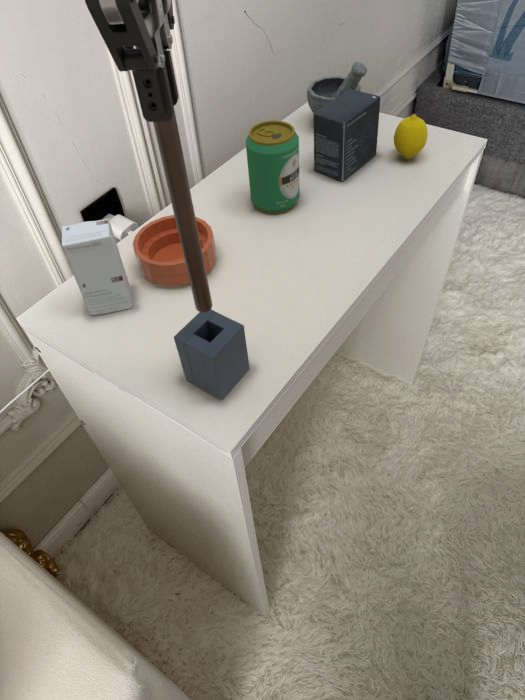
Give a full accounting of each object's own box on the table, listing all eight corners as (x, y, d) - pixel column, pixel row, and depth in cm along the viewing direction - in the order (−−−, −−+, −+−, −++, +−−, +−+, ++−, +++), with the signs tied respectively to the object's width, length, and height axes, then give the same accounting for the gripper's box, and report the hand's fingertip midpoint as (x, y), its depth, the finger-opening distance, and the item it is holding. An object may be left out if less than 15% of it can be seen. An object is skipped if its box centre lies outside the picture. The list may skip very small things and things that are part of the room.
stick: (194, 312, 55) (131, 45, 35) (196, 300, 56) (137, 35, 37) (211, 312, 55) (157, 43, 35) (213, 300, 56) (162, 33, 36)
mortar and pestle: (297, 127, 102) (297, 62, 93) (323, 108, 106) (325, 43, 97) (348, 142, 97) (352, 75, 88) (373, 121, 102) (379, 55, 92)
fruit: (424, 151, 94) (432, 106, 87) (421, 167, 90) (430, 122, 84) (393, 148, 95) (399, 104, 89) (389, 164, 91) (395, 120, 85)
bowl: (133, 289, 75) (125, 265, 71) (148, 239, 82) (141, 215, 79) (212, 288, 74) (207, 264, 70) (220, 237, 81) (216, 213, 78)
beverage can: (280, 221, 83) (277, 150, 74) (241, 205, 86) (233, 136, 77) (309, 196, 87) (309, 126, 78) (270, 182, 90) (266, 113, 81)
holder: (185, 380, 64) (173, 336, 58) (214, 350, 66) (205, 306, 60) (221, 401, 61) (212, 358, 55) (249, 369, 64) (244, 325, 58)
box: (346, 144, 97) (350, 86, 89) (377, 155, 94) (383, 96, 86) (311, 170, 92) (312, 111, 84) (342, 182, 89) (346, 122, 81)
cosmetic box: (90, 317, 72) (58, 247, 62) (89, 295, 75) (59, 225, 65) (135, 308, 72) (110, 237, 63) (132, 286, 75) (108, 216, 66)
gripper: (58, -229, 31) (132, 75, 44) (-37, -210, 22) (91, 162, 36) (182, -241, 31) (220, 71, 44) (134, -226, 22) (200, 158, 35)
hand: (162, 111), depth 40 cm, fingers closed on stick, 2 cm apart
